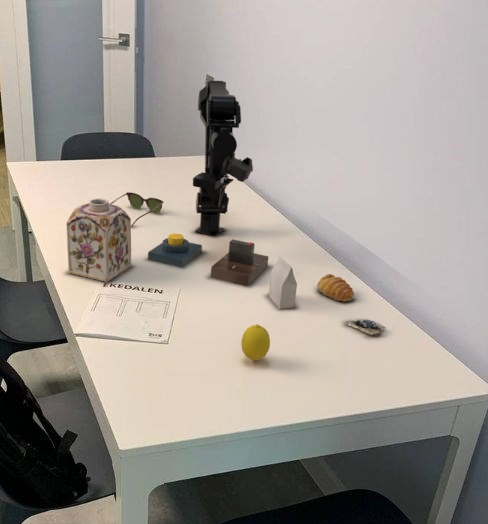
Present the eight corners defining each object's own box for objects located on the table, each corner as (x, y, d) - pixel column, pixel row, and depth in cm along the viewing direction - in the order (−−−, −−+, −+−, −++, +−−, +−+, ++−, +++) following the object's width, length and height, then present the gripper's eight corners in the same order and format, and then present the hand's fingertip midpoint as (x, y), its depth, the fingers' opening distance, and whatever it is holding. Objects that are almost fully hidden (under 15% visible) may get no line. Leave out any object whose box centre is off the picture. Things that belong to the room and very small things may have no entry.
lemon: (238, 353, 135) (241, 318, 131) (265, 353, 135) (268, 318, 132) (242, 368, 130) (245, 332, 126) (270, 367, 130) (274, 331, 127)
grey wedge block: (279, 308, 153) (283, 268, 149) (268, 296, 159) (272, 257, 155) (294, 307, 154) (299, 267, 150) (282, 295, 160) (287, 256, 156)
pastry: (360, 299, 160) (362, 285, 158) (339, 305, 156) (341, 291, 155) (334, 284, 167) (336, 270, 165) (313, 290, 163) (314, 275, 162)
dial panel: (231, 259, 179) (232, 248, 177) (267, 266, 175) (269, 255, 174) (210, 277, 167) (210, 266, 166) (248, 286, 164) (249, 274, 162)
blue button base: (169, 245, 186) (169, 231, 184) (201, 252, 182) (202, 238, 180) (147, 259, 176) (147, 245, 174) (181, 267, 172) (182, 253, 170)
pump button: (172, 239, 180) (172, 232, 179) (185, 242, 178) (186, 235, 177) (165, 244, 176) (165, 237, 175) (178, 247, 175) (179, 239, 174)
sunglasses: (164, 215, 208) (163, 200, 205) (135, 232, 197) (134, 216, 195) (127, 205, 214) (126, 191, 212) (97, 221, 204) (96, 206, 201)
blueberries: (377, 339, 142) (379, 331, 141) (342, 328, 146) (343, 321, 145) (387, 327, 147) (389, 319, 146) (353, 317, 151) (354, 309, 150)
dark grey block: (228, 260, 170) (229, 240, 168) (231, 257, 172) (232, 238, 169) (250, 264, 168) (251, 245, 166) (253, 262, 170) (254, 242, 167)
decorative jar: (132, 266, 171) (132, 198, 163) (108, 283, 162) (106, 212, 154) (92, 257, 176) (90, 190, 167) (66, 273, 166) (63, 203, 158)
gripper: (235, 159, 159) (230, 222, 166) (263, 144, 174) (258, 202, 181) (192, 153, 163) (190, 214, 170) (224, 138, 178) (220, 195, 185)
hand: (216, 206), depth 177 cm, fingers closed
